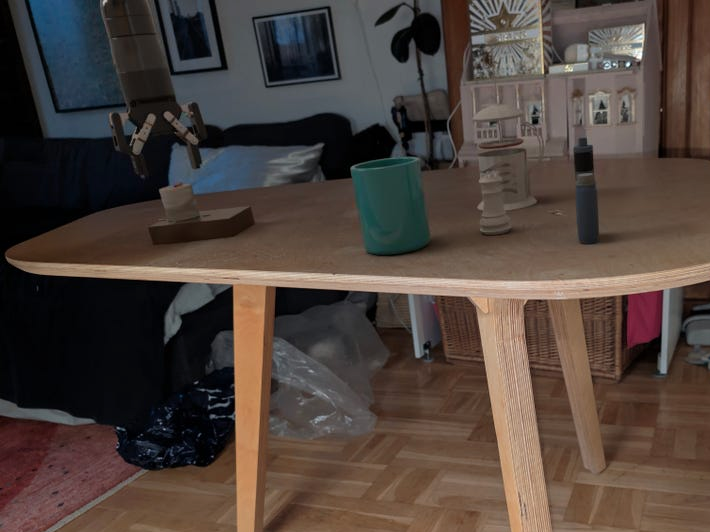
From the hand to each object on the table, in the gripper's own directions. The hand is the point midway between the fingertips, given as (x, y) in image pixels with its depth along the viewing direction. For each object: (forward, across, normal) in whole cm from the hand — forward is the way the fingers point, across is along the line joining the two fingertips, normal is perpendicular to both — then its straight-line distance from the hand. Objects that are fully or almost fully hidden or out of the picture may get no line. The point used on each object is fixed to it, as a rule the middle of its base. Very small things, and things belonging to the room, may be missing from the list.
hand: (171, 173), depth 117 cm
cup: (+10, +13, -45) cm, 48 cm away
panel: (+10, +2, -2) cm, 11 cm away
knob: (+7, 0, 0) cm, 7 cm away
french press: (+10, +38, -42) cm, 57 cm away
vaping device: (+10, +26, -68) cm, 73 cm away
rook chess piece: (+10, +24, -53) cm, 59 cm away
